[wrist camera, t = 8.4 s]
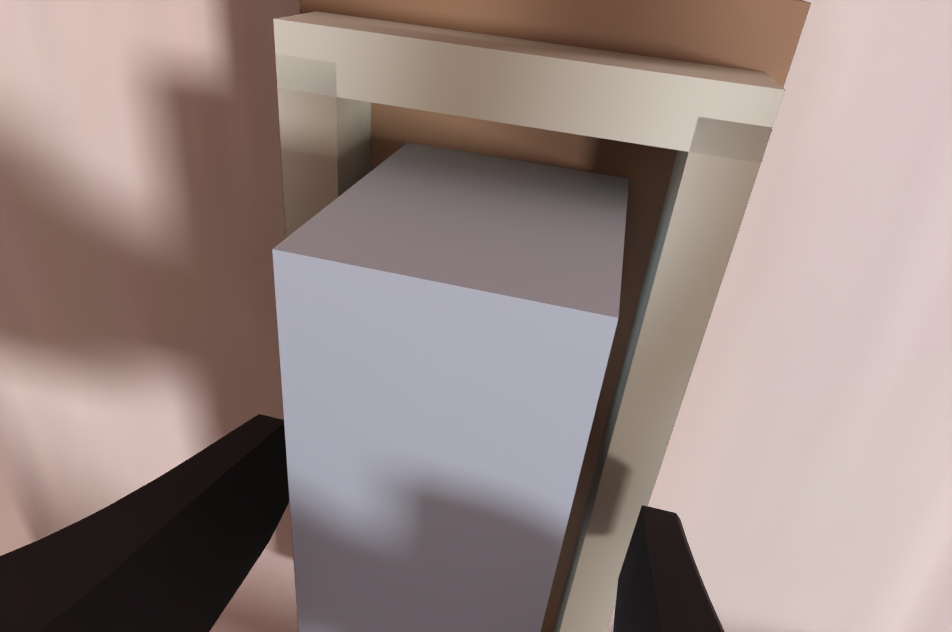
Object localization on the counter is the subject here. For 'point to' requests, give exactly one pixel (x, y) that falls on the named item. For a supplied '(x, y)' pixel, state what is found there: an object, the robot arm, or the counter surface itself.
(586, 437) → the grey box
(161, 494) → the robot arm
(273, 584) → the counter surface
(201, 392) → the counter surface
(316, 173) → the framed wooden panel
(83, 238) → the counter surface
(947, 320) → the counter surface
